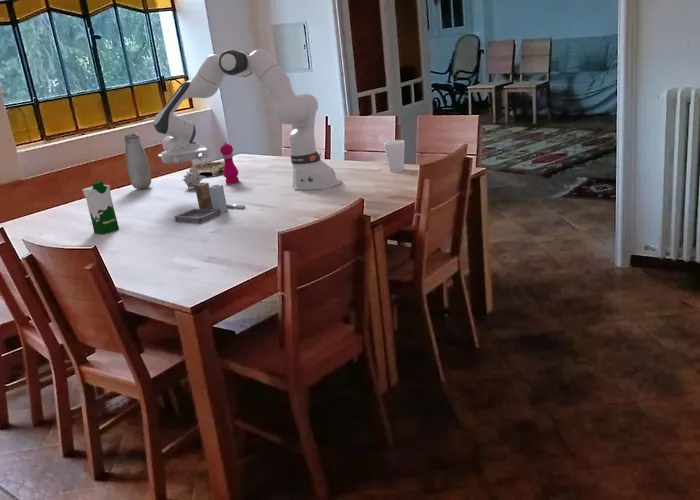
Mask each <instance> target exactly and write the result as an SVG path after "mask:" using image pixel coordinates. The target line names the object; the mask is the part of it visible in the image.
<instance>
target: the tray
mask: <svg viewBox="0 0 700 500" xmlns="http://www.w3.org/2000/svg"><path fill="white" fill-rule="evenodd" d="M220 216H221V214H220V212H219V210H213V209H211V210H210V209H199V208H196V207H194V208H192V209H190V210H187V211H185V212H183V213H180V214H177V215H175V216H174V222H177V223H178V222H179V223H189V224H190V223H191V224H202V223H205V222H207V221H209V220H212V219H214V218H216V217H220Z"/></svg>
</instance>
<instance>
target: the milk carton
mask: <svg viewBox="0 0 700 500" xmlns="http://www.w3.org/2000/svg"><path fill="white" fill-rule="evenodd" d="M91 183H92V186H90V187H85V188H82V189H81V190H82V192H83V195H84V198H85V200H86V205H87V208H88V212H89V216H90V219H91V223H92V228H93V233H95V234H100V235H106V234H109V233H111V232H115V231H117V230H120V227H119V223H118V218H117V215H116V211H115V207H114V202H113V199H112V195H111V186H110V185H108V184H104V181H103V180H99V181H95V182H91Z"/></svg>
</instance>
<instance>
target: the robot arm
mask: <svg viewBox="0 0 700 500" xmlns="http://www.w3.org/2000/svg"><path fill="white" fill-rule="evenodd" d="M251 75H253V76H254V77H255V78H256V80H257V81H258V82H259V83H260V84H261V86H262V87H263V89H264V90H265V91H266V92H267V94H268V95H269V96H270V98H271V100H272V103H273V105H274V107H275V110H274V111H275V117H276V118H277V120H278V122H279V123H281V124H283V125H291V130H290V133H289V134H288V135H289V136H288V142H289V149H290V160H291V161H290V162H291V165H292V173H293V175H292V176H293V177H292V178H293V179H292V181H293V182H292V185H291V186H292V188H293V189H294V191H302V190H304V191H305V190H309V191H310V190H326V189H327V190H328V189H331V188H334V187H337V186H338V185H340V184H341V183H342V182H343V180H342V178H337V175H336V172H335V169H334V168H333V167H331V166H330V165H328V164H327V163H325V162H324V161H323V160H322V159H321V157H322V156H323V155H322V152H321V153H319V152H318V151H317V145H316V139H315V123H316V122H315V121H316V114H317V111H318V109H319V103H318V100H317V98H316V97H315V96H314V95H312V94H309V93H299V94H295V92H294V91H293V90H294V89H292V85H291V79H290V77H289V76H288V74H287V73H286V72H285V70H283V68H282V67H281V66H280V64H279V63H278V62H277V61H276V60H275V59H274V58H273V57H272V55H270V54H269V53H268V52H267V51H266V50H264V49H262V48H261V49H255V50H254V51H252V52H251V53H248V52H246V51H242V50H237V49H227V50H224V51H222V53H221V54H216V53H211V54H209V55H208V56H207V57H206V58H205V59H204V61H203V63H201V66H200V67H199V69H198V70H197V73H196V74H195V76H194V77H192V78H191V79H189V80H185V81H183V82H182V84H181V85H179V86H178V88H177V89H176V90H175V92H174V93H173V94H172V96H170V98H169V99H168V101H167V103H165V105H164V106H163V107H162V108H161V109H160V110H159V111H158V112H157V113H156V115H155V117H154V119H153V127H154V129H155V131H156V132H157V133H159V134H162V135H166V136H165V137H164V138H163V140H162V143H161V145H162V148H163V150H164V151H162V152H160V153H159V154H158V155H157V156H158V158H160V159H161V162H162V163H163V164H172V163H177V164H179V163H180V164H181V163H184V162H187V161H192V160H201V161H202V160H203V159H207V158H209V155H210V154H209V149H208V148H207V147H206V146H204V145H202V144H200V142H198V141H195V142H194V140H195V137H196V133H197V130H196V125H195V123H194V122H193V121H192V120H191V121H190V120H188V119H187V118H184V117H181V116H178V115H176V114H174V113H175V112H176V111H177V109H178V108H179V107H180V106H181V104H182V103H183V101H185V100H187V99H208V98H211V97H213V96H214V95H215V94H217V92H218V90H219V89H220V86H221V85H222V83H223V81H224V79H225V78H226V76H233V77H236V78H247V77H249V76H251Z"/></svg>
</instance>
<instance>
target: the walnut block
mask: <svg viewBox="0 0 700 500" xmlns="http://www.w3.org/2000/svg"><path fill="white" fill-rule="evenodd" d="M209 187H210V185H209V182H200V183H199V184H196V185H195V187H194V189H195V190H194V191H195V194H196V199H197V203H198V209H210V210H213V207H212V202H211V197H210V192H209Z"/></svg>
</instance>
